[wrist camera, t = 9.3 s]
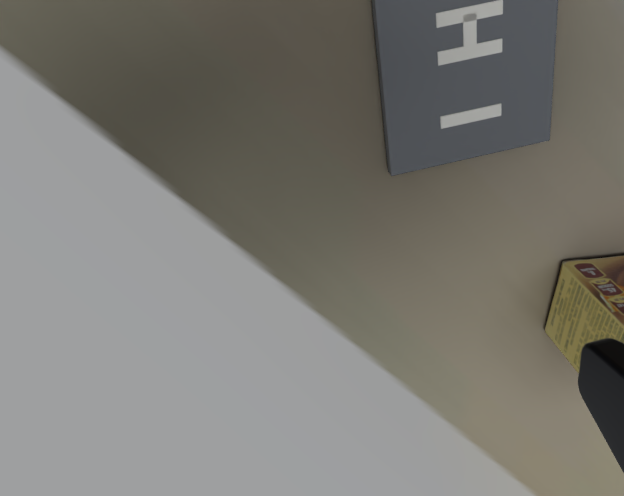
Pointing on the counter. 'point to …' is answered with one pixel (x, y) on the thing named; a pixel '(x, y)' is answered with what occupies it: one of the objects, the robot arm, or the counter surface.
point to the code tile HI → (463, 77)
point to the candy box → (587, 305)
